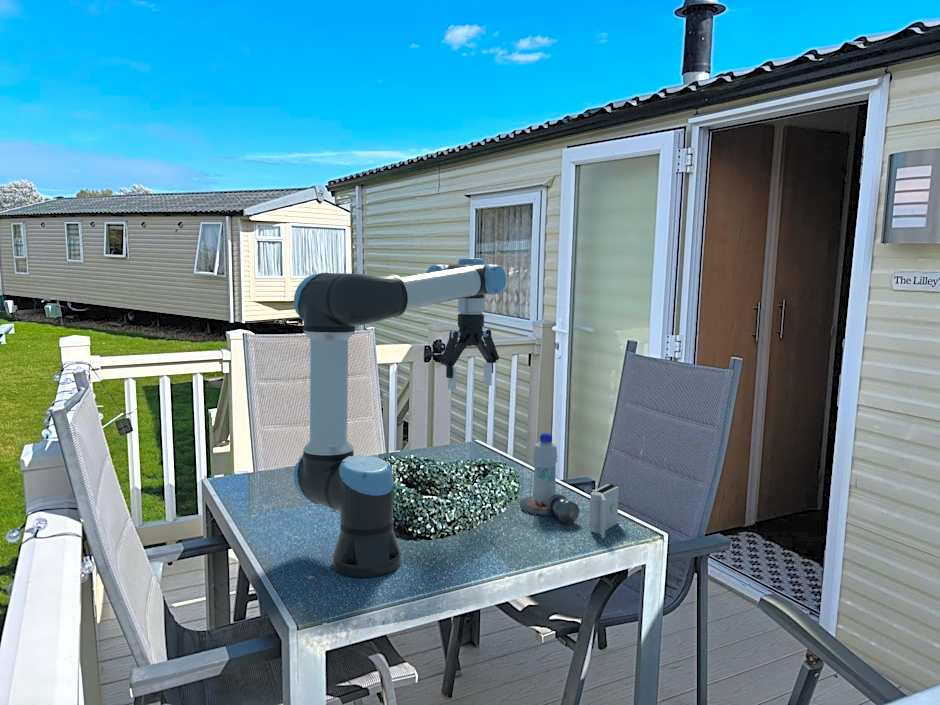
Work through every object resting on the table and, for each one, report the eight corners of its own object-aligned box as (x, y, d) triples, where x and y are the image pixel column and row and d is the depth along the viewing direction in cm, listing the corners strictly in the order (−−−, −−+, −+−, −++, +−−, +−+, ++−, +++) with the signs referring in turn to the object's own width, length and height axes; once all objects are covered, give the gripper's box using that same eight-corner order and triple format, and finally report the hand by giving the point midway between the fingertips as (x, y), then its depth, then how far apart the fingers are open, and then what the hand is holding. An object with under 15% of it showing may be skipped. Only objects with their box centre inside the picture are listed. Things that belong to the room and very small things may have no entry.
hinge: (604, 539, 168) (605, 500, 166) (583, 536, 170) (584, 497, 169) (619, 522, 180) (620, 485, 179) (599, 518, 182) (600, 482, 181)
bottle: (551, 498, 194) (553, 430, 192) (559, 506, 188) (561, 435, 185) (529, 499, 193) (530, 431, 191) (536, 507, 186) (538, 436, 184)
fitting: (591, 520, 180) (592, 499, 180) (545, 527, 175) (545, 504, 174) (554, 497, 199) (555, 477, 199) (511, 502, 194) (511, 481, 194)
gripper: (493, 311, 203) (492, 381, 206) (427, 313, 187) (427, 389, 189) (511, 312, 198) (510, 384, 200) (445, 315, 181) (444, 393, 184)
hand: (470, 387), depth 195 cm, fingers open, 13 cm apart
